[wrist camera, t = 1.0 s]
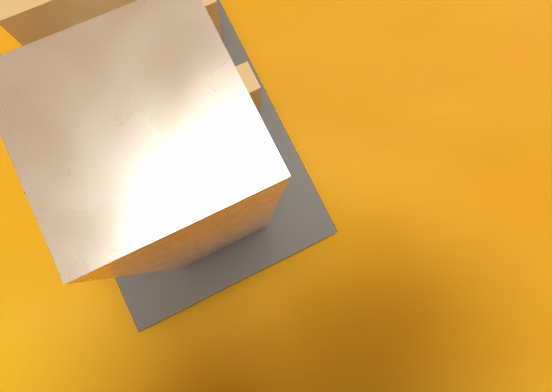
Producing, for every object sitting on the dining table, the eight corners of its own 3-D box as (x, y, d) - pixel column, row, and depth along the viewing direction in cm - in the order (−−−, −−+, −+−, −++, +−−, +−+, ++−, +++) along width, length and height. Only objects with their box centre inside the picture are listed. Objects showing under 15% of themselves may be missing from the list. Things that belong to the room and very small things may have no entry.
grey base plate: (335, 232, 24) (355, 226, 19) (141, 330, 22) (113, 348, 18) (208, -18, 25) (198, -76, 21) (21, 57, 24) (-31, 12, 20)
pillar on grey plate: (266, 226, 22) (290, 176, 9) (180, 269, 22) (56, 287, 8) (227, 146, 23) (190, -22, 9) (142, 186, 22) (-36, 69, 9)
